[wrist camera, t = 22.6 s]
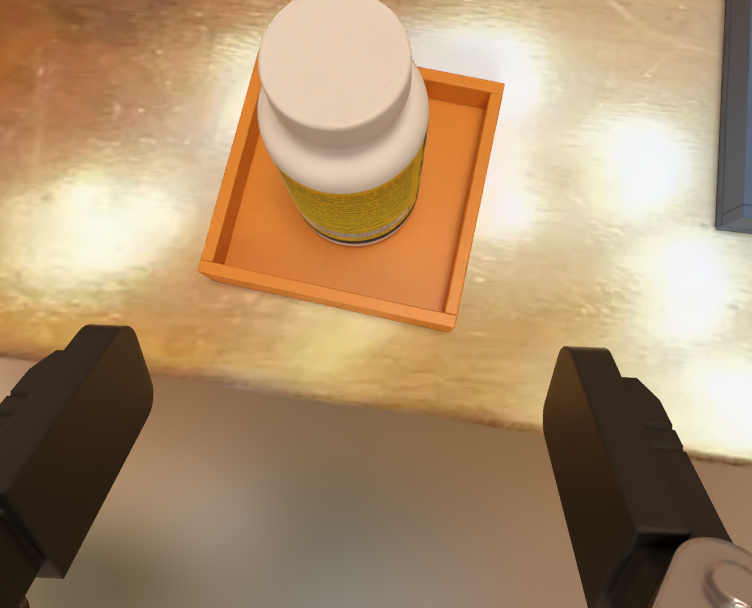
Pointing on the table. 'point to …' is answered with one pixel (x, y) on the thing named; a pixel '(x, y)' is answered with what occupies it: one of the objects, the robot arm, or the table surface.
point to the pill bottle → (344, 116)
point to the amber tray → (370, 262)
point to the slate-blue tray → (736, 122)
